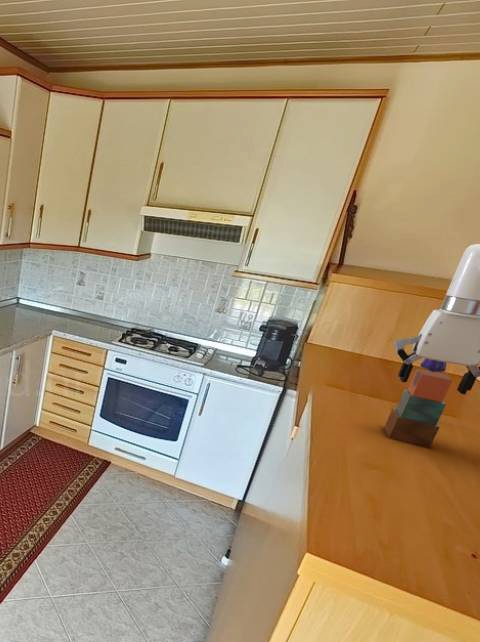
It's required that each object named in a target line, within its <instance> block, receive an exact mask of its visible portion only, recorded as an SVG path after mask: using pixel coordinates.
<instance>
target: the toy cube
mask: <svg viewBox="0 0 480 642" xmlns="http://www.w3.org/2000/svg"><path fill="white" fill-rule="evenodd" d="M414 372H415V373H414V375H413V376H412V378H411V381H410V384H409V386H408V388H407V390H408V391H409V392H410V394H411V395H412V396H414V397H419V398H423V399H428V400H433V401H437V402H443V401H444V399H445V398H446V395H447V393H448V391H449V390H450V387H451V385H452V383H453V379H452V378H450V377H449V376H448V375H447V374H444V373H440V372H436V373H434V372H429V371H427V370H423V369H419V368H416V370H415V371H414Z"/></svg>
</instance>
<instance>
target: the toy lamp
mask: <svg viewBox="0 0 480 642" xmlns="http://www.w3.org/2000/svg"><path fill="white" fill-rule="evenodd" d="M419 365H420V367H421V368H423V369H425V370H426V371H429V372H434V373H444V372H445V371H446V369H447V362H442V361H436V360H431V359H426V358H423V360H422V361H421V362H420V364H419Z"/></svg>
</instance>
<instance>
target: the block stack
mask: <svg viewBox="0 0 480 642" xmlns="http://www.w3.org/2000/svg"><path fill="white" fill-rule="evenodd" d="M446 406H447V403H446V402H445V401H444V400H443V402H437V401H433V400H428V399H423V398H419V397H414V396H412V395H411V394H410V392H409V391H408V388H407V389H406V388H404V390H403V391H402V394H401V397H400V399H399V401H398V403H397V406H396V408H394V407H392V408H391V411H390V413H389V416H388V418H387V419H386V422H385V425H384V427H383V428H384V430H385V432H386V434H387V436H388V438H389V439H392V440H396V441H399V442H404V443H407V444H412V445H416V446H420V447H423V448H427V449H430V448H431V446H432V445H433V442H434V440H435V438H436V436H437V434H438V432H439V430H440V428H441V427H440V426H439V424H438V423H439V421H440V418H441V416H442V415H443V412H444V411H445V409H446Z"/></svg>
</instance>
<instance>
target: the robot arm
mask: <svg viewBox="0 0 480 642" xmlns="http://www.w3.org/2000/svg"><path fill="white" fill-rule="evenodd" d="M412 344H413V346H412V352H410V353H408V354H407V352H406V350H405V347H406V346H407V345H412ZM394 347H395V350H396V351H395V352H396V354H397V356H399V357H400V359H401V360H402V364H401V366H400V369H399V371H398V374H397V377H399V380H400V381H401V383H407V382H408V380H409V378H410V376H411V373H412V371H413V368H414V365H413V363H414V362H416V361H419V360H421V359H425V358H426V359H431V360H436V361H442V362H447V363H448V364H454V365H460V366H465V367H466V369H467V372H465V373H463V375H462V378H461V380H460V382H459V384H458V386H457V388H456V391H457V392H459V394H461V395H466V394H467V392H468V391H472V388H473V387H474V384H475V382H476V380H477V379H478V378H480V366H478V365H479V363H480V243H474V244H471V245H469V246H468V247H466V248H465V250H464V251H463V253H462V256H461V258H460V261H459V263H458V265H457V267H456V270H455V272H454V274H453V276H452V279H451V282H450V284H449V287H448V289H447V291H446V293H445V296H444V298H443V300H442V303H441V305H440V307H439V309H433V310H432V312H431V313H430V314H429V316H428V317H427V319H426V321H425V322H424V324H423V326H422V328H421V329H420V331H419V333H418V335H415V336H410V337H404V338H399V339H396V340H394ZM447 363H446V364H447Z"/></svg>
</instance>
